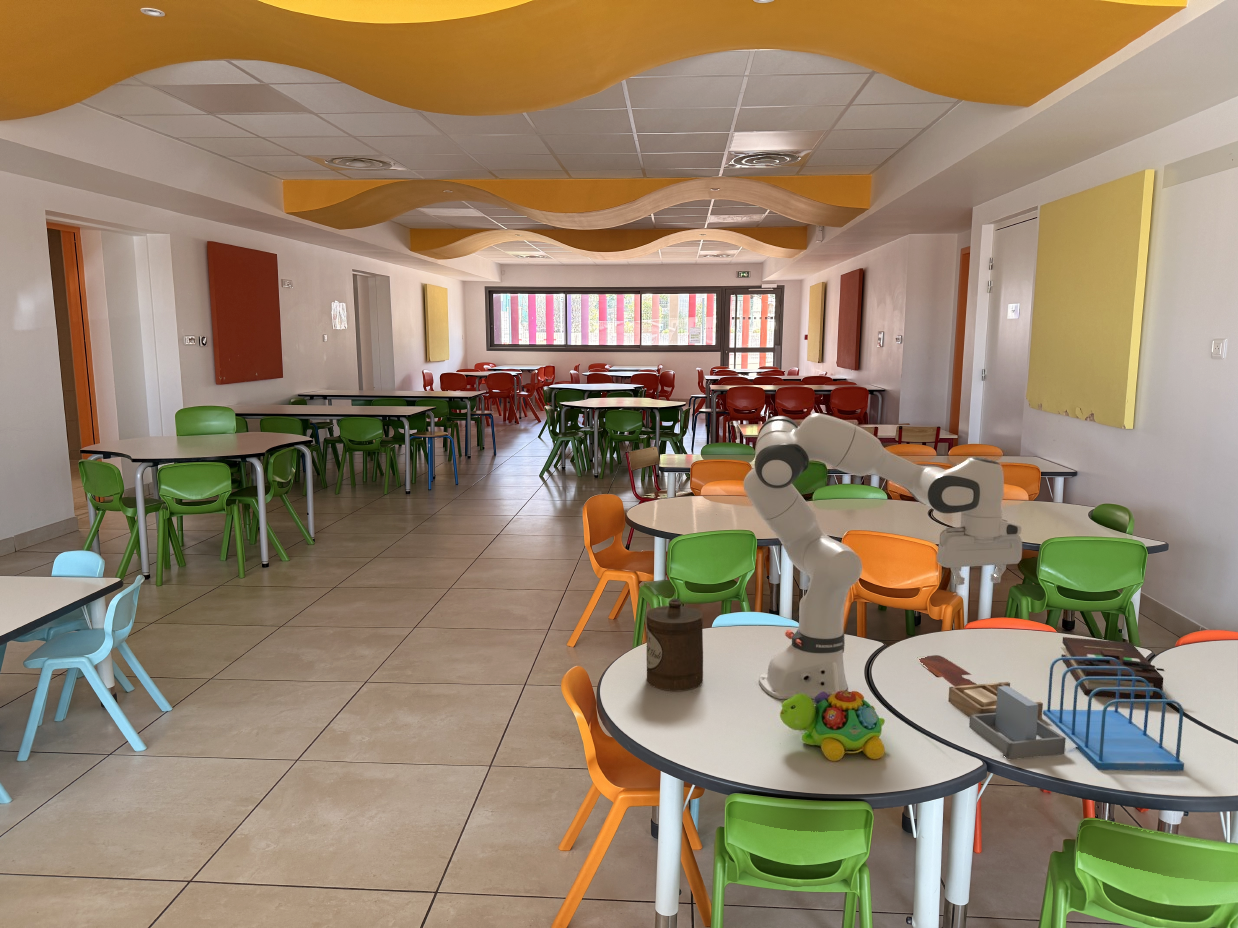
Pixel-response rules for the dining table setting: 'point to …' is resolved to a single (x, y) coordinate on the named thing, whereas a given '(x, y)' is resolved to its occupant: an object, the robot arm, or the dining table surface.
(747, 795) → the dining table surface
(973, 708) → the divided wooden box
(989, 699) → the offcut slab upper
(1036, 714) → the grey square block
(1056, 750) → the tray
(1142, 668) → the decorative book
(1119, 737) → the file sorter
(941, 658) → the wooden tablet
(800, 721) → the turtle toy
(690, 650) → the wooden container
